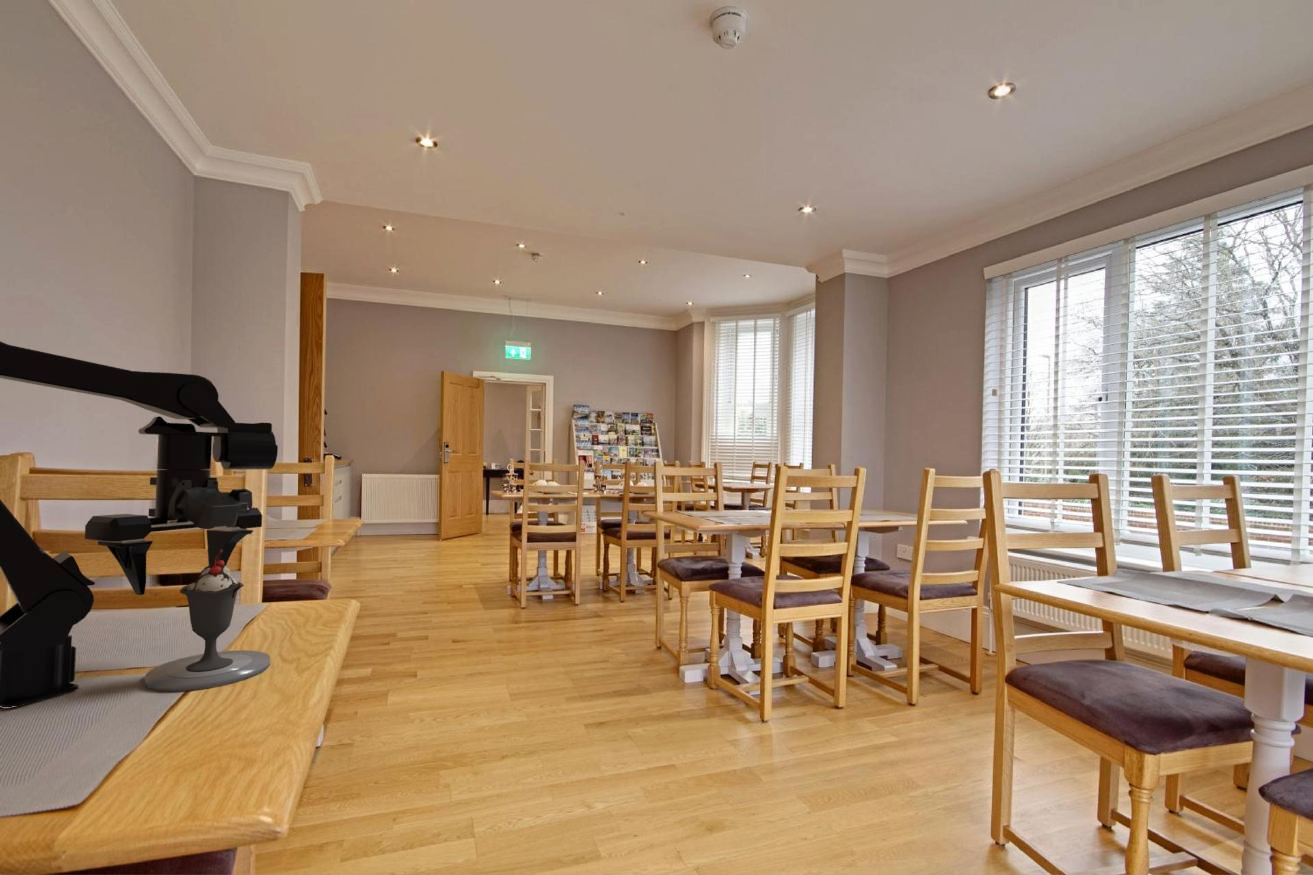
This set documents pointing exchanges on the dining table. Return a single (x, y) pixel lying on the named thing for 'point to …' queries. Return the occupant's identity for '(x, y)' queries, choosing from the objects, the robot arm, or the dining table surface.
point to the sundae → (211, 611)
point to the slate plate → (206, 672)
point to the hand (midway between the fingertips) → (179, 587)
